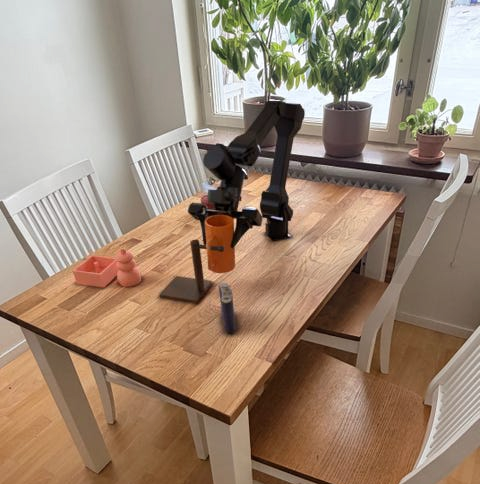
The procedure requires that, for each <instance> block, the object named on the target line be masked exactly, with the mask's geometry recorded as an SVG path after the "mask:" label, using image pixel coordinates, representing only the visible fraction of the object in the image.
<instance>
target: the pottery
mask: <svg viewBox="0 0 480 484" xmlns="http://www.w3.org/2000/svg"><path fill="white" fill-rule="evenodd" d="M136 262H137V261H136V260H135V259H134V254H133V252H131V251H127V249H126V248H121V249H119V252H118V253H117V254H116V255H115V257H111V256H110V257H109V256H101V255H93V254H92V255H90V256H89V257H88V258H87V259H85V260H83V262H82V263H81V264H79V265H78V266H77V267H75V268H74V269H73V270H72V274H73V277H74V280H75V282H76V284H77V285H82V286H83V285H85V286H90V287H97V288H105V287H106V286H108V285H109V283H111V282H112V281H113V280H114V279H115V278H117V281H118V283H119V285H121V286H122V287H125V288H126V287H127V288H128V287H129V288H130V287H133V286H134V287H135V286H136V285H138V284H140V282H141V281H142V273H141V271H140V270H139V268H138V267H136V265H137V263H136Z"/></svg>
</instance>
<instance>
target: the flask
mask: <svg viewBox="0 0 480 484" xmlns="http://www.w3.org/2000/svg"><path fill="white" fill-rule="evenodd" d="M218 290H219V291H218V292H219V301H220V311H221V318H222V324H223V325H224V333H225V334H227V335H228V336H230V335H234V334H235V333H236V331H237V329H236V328H237V326H236V319H235V309H234V307H235V306H234V295H233V291H232V289H231V284H229V283H227V282H220V283H219V284H218Z"/></svg>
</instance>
